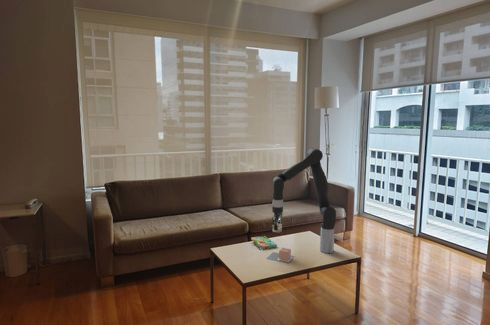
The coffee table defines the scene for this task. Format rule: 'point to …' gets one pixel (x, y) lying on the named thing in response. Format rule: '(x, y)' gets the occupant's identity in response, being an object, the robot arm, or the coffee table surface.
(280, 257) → the terracotta base block
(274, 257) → the blueprint board
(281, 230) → the maple cube
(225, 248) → the coffee table surface
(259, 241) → the puzzle game
